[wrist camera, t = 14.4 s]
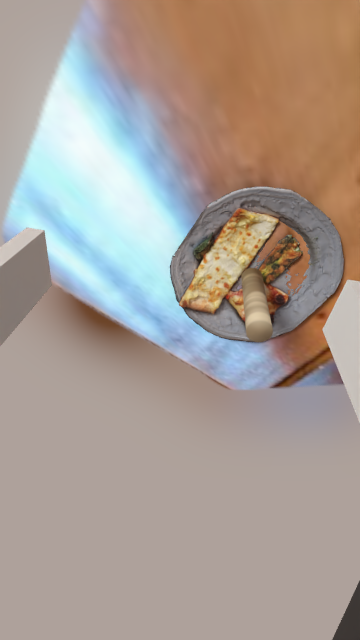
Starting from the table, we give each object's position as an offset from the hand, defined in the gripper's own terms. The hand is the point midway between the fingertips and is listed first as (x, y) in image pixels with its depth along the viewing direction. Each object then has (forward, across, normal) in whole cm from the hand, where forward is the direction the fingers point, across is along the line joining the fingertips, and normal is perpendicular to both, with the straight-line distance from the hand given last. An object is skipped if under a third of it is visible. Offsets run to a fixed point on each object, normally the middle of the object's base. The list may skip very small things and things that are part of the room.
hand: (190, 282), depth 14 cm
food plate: (+33, +9, -15) cm, 38 cm away
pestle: (+30, +9, -15) cm, 35 cm away
